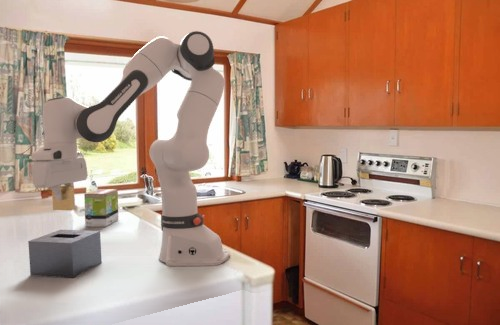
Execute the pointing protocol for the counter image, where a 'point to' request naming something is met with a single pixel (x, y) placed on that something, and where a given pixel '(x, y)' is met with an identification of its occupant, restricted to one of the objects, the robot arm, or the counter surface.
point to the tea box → (101, 207)
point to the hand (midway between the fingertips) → (63, 199)
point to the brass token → (68, 200)
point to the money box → (64, 253)
